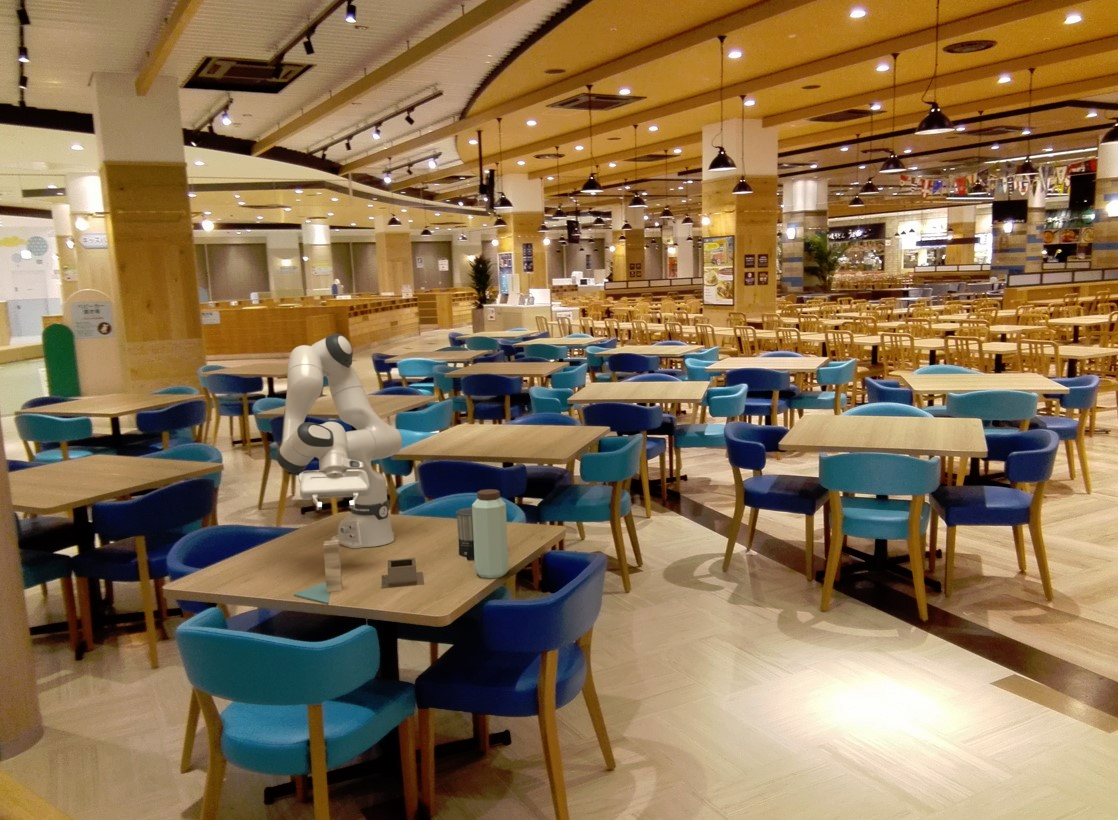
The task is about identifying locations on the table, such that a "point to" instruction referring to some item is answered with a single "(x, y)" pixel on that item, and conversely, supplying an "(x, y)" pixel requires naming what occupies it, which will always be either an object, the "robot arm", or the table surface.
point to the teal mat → (315, 594)
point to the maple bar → (332, 566)
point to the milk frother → (465, 533)
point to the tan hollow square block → (402, 574)
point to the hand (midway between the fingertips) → (336, 508)
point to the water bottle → (490, 534)
